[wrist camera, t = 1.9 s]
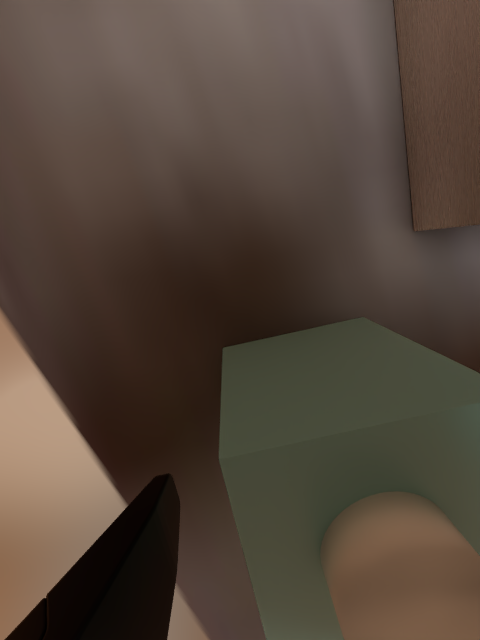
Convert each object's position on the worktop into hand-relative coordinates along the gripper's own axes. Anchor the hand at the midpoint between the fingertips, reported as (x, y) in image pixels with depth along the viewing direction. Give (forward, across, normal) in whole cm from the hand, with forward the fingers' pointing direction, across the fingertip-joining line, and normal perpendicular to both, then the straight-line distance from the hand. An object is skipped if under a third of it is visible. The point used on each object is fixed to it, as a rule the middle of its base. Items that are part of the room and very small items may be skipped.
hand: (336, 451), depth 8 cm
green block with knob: (+3, 0, 0) cm, 3 cm away
